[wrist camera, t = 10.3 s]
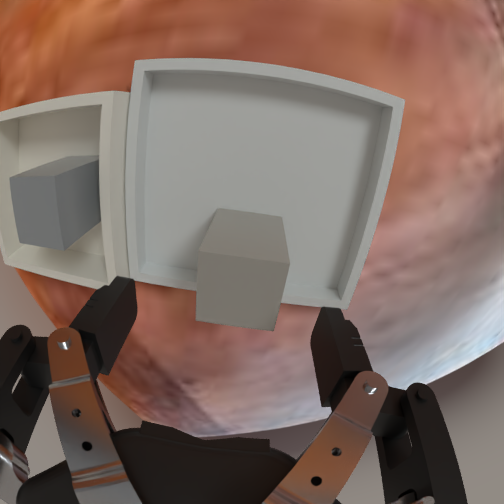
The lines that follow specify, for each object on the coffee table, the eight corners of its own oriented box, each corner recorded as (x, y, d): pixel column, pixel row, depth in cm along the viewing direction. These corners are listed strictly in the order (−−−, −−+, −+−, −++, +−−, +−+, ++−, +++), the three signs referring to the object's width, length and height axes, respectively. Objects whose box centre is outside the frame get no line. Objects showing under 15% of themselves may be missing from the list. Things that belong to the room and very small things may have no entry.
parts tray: (390, 100, 14) (405, 99, 12) (340, 293, 20) (347, 309, 19) (148, 65, 14) (135, 60, 12) (140, 265, 20) (130, 279, 18)
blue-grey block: (67, 156, 16) (9, 177, 10) (111, 155, 16) (54, 176, 10) (70, 208, 17) (19, 242, 12) (113, 212, 18) (64, 250, 12)
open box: (142, 94, 14) (114, 90, 11) (139, 265, 20) (118, 293, 17) (19, 110, 14) (-13, 116, 11) (29, 244, 20) (4, 263, 16)
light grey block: (281, 216, 17) (289, 263, 12) (271, 271, 19) (273, 331, 14) (218, 207, 17) (198, 250, 12) (213, 263, 19) (195, 320, 14)
